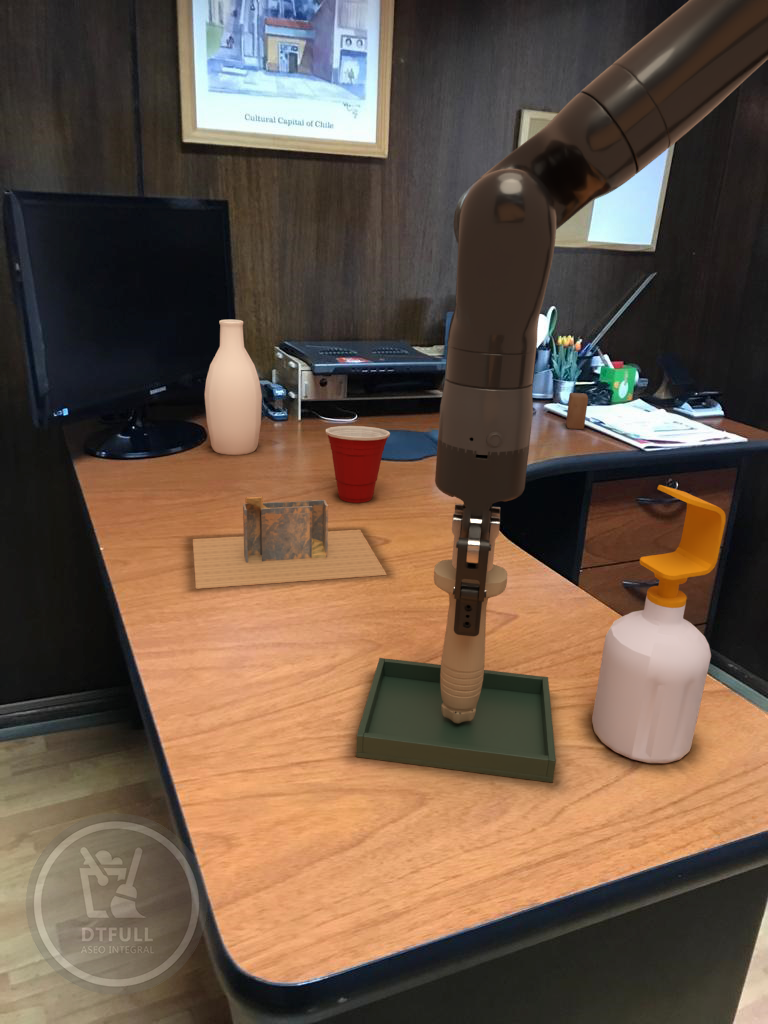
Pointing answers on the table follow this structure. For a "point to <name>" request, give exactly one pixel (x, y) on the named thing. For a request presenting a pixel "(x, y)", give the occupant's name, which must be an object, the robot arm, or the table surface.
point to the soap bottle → (660, 651)
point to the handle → (464, 647)
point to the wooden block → (576, 410)
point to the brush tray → (459, 746)
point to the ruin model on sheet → (283, 548)
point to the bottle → (233, 395)
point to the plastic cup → (356, 460)
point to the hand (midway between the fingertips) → (467, 617)
